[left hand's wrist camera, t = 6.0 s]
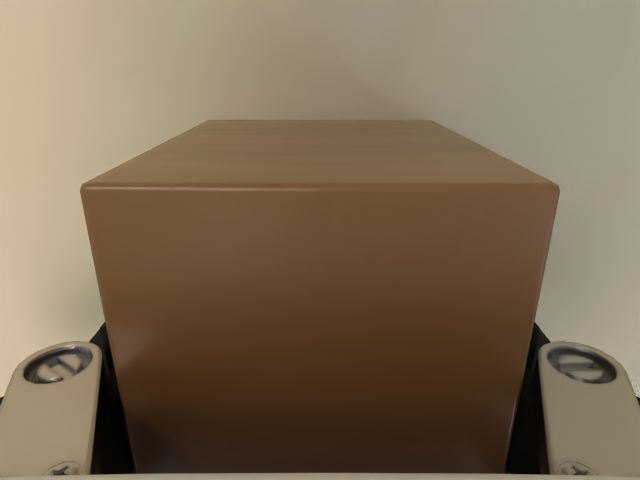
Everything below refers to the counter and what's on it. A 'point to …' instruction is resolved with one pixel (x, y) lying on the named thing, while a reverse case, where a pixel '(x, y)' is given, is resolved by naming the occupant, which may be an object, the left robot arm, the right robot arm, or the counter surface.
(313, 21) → the counter surface
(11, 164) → the counter surface
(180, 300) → the post
